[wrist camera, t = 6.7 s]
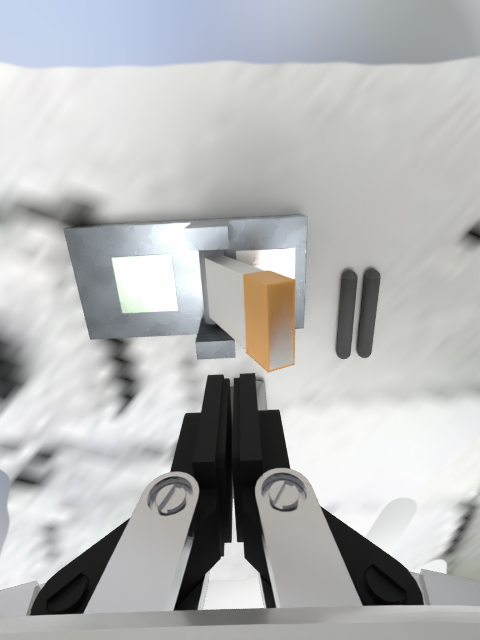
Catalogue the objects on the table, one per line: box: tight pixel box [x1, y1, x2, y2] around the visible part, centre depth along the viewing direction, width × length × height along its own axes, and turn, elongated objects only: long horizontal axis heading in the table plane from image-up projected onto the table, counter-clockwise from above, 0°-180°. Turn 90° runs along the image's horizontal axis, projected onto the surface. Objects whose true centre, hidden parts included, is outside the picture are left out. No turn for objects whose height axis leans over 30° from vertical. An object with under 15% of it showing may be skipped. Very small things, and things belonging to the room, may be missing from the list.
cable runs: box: [337, 270, 380, 359], centre depth 32 cm, size 4×9×1 cm, turn 3°
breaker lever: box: [198, 249, 296, 372], centre depth 23 cm, size 2×6×12 cm, turn 1°
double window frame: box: [64, 215, 307, 359], centre depth 27 cm, size 20×10×8 cm, turn 93°
